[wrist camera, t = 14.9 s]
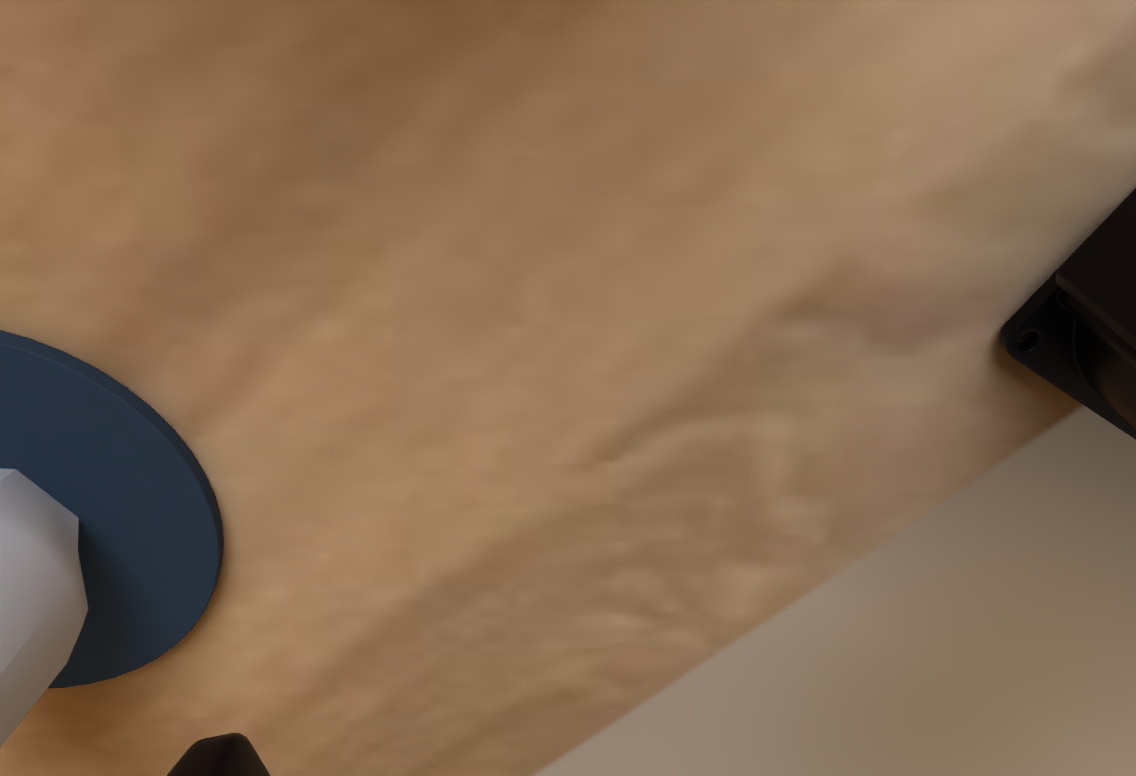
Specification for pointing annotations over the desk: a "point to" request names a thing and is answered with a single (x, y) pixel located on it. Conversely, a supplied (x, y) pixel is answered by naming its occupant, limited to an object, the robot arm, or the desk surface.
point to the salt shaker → (35, 594)
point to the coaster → (113, 504)
